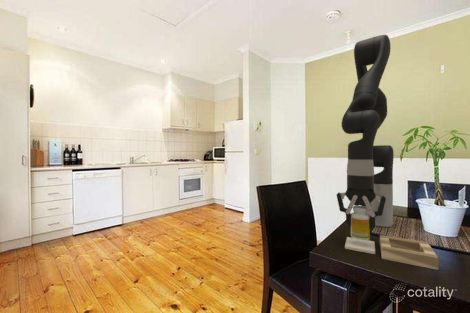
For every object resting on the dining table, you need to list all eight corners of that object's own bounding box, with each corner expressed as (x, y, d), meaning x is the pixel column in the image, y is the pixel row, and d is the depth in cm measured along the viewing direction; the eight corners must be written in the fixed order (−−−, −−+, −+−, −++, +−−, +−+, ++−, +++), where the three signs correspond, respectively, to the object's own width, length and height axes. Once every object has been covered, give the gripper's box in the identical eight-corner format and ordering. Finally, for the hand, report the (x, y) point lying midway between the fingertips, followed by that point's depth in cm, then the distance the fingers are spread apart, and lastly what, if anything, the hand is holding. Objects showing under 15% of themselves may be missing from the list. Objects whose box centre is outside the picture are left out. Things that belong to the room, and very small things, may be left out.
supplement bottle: (372, 241, 68) (373, 209, 68) (353, 239, 69) (353, 208, 69) (366, 235, 73) (366, 205, 73) (348, 234, 75) (348, 204, 75)
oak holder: (379, 244, 73) (379, 235, 73) (427, 252, 67) (427, 242, 67) (381, 258, 63) (381, 248, 63) (438, 269, 57) (438, 258, 57)
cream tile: (347, 239, 77) (347, 236, 77) (374, 243, 73) (374, 241, 73) (344, 248, 70) (344, 246, 70) (375, 254, 66) (375, 251, 66)
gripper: (386, 173, 71) (386, 227, 71) (336, 172, 78) (336, 220, 78) (388, 175, 65) (388, 234, 65) (334, 173, 72) (334, 226, 72)
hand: (360, 226), depth 71 cm, fingers closed on supplement bottle, 5 cm apart
